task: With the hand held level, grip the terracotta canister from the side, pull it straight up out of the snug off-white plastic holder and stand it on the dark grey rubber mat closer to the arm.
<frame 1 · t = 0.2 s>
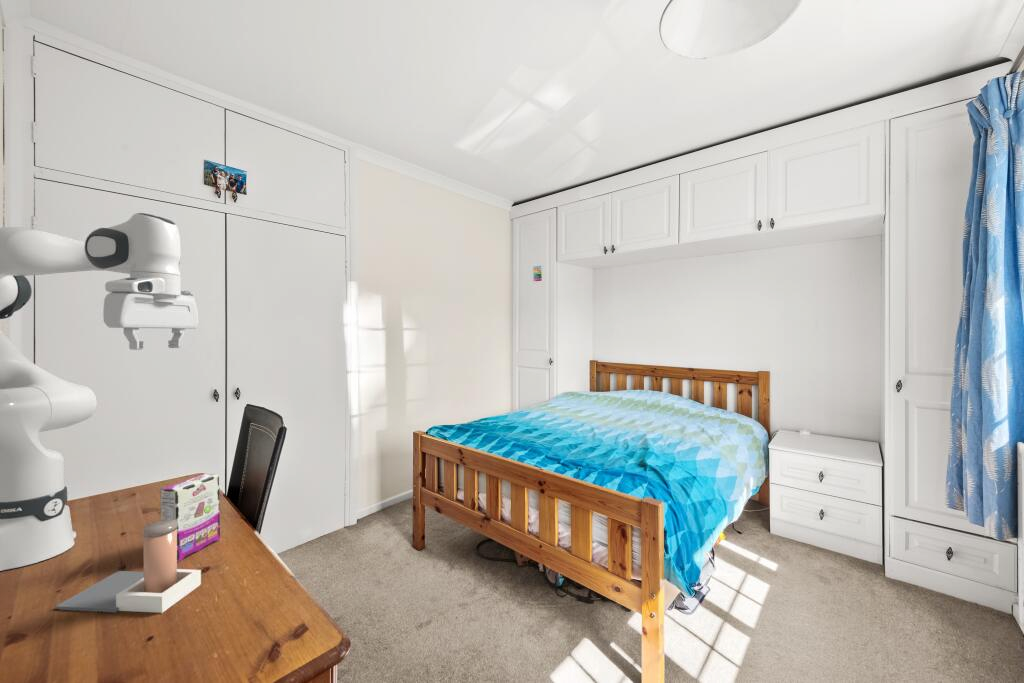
hand: (156, 348, 96), 48 cm above the table, tool pointing down, fingers open, 8 cm apart
candy bar box: (191, 550, 102), on the table
canister: (160, 561, 83), in the holder
mat: (117, 591, 85), on the table
holder: (160, 596, 83), on the table
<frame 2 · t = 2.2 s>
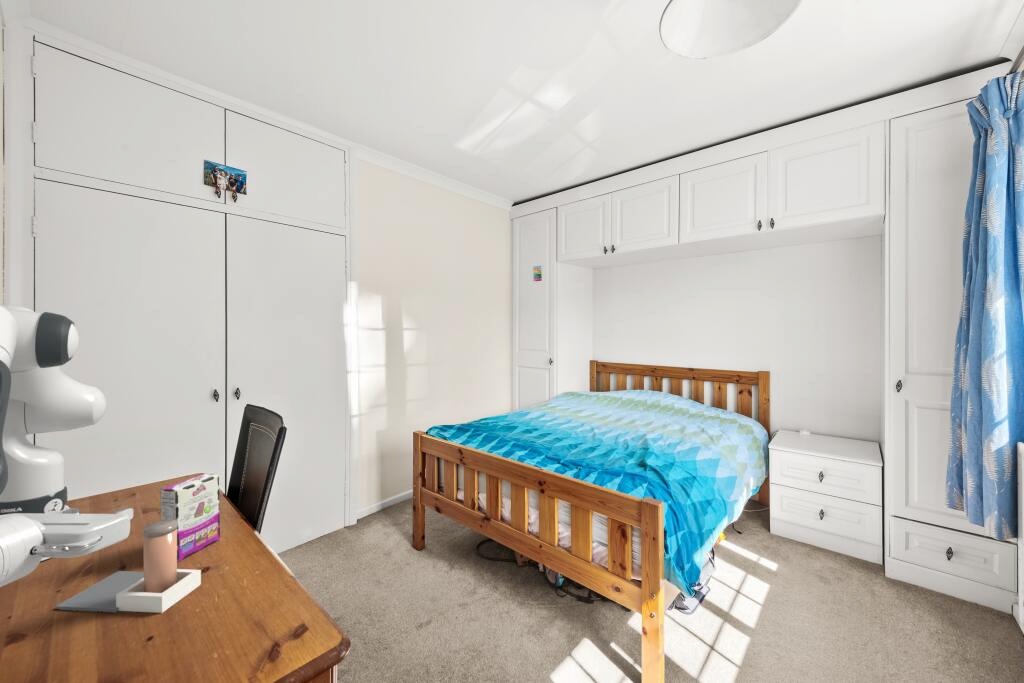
hand: (102, 512, 71), 21 cm above the table, tool horizontal, fingers open, 8 cm apart
nothing on the table moved.
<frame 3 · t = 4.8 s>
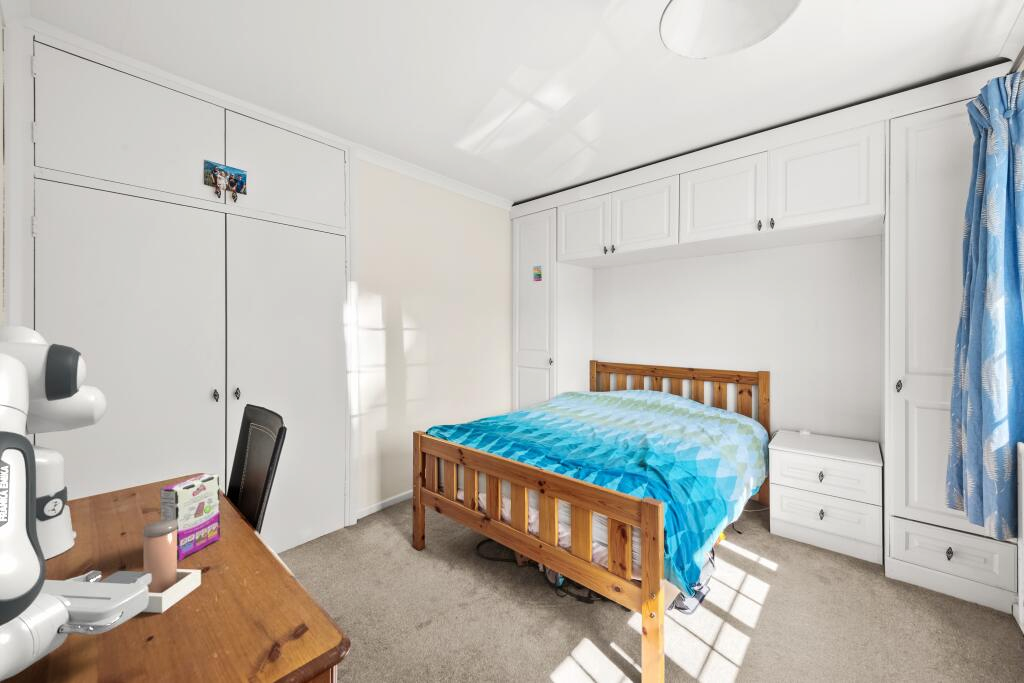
hand: (122, 575, 76), 8 cm above the table, tool horizontal, fingers open, 8 cm apart
nothing on the table moved.
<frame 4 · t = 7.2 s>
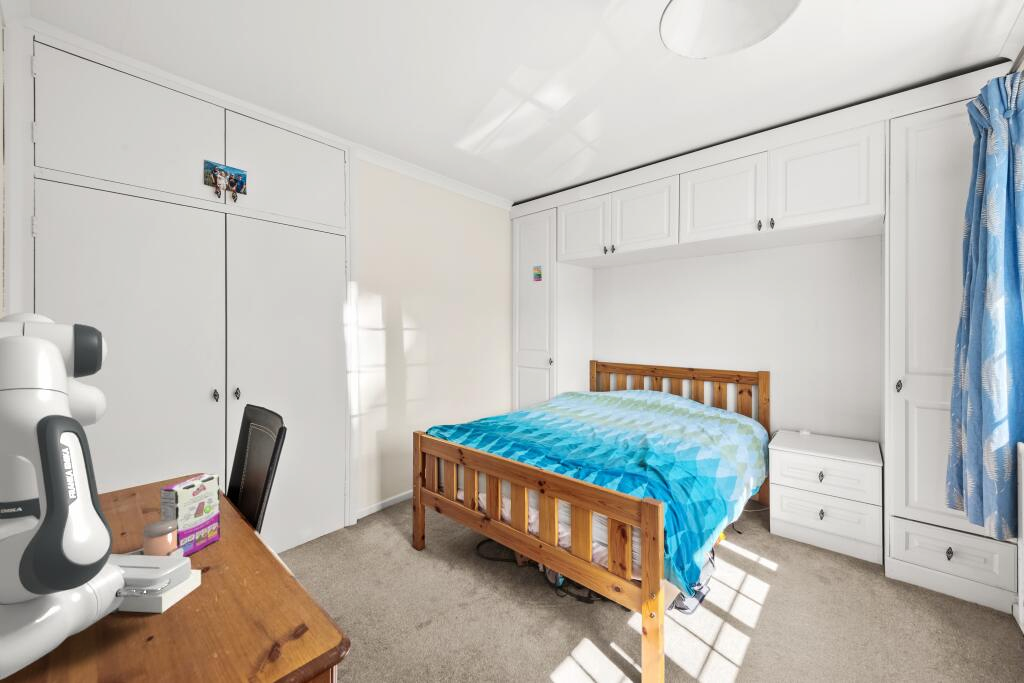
hand: (164, 551, 84), 9 cm above the table, tool horizontal, fingers closed on canister, 5 cm apart
canister: (160, 561, 83), in the holder, touching gripper
everything else where it was.
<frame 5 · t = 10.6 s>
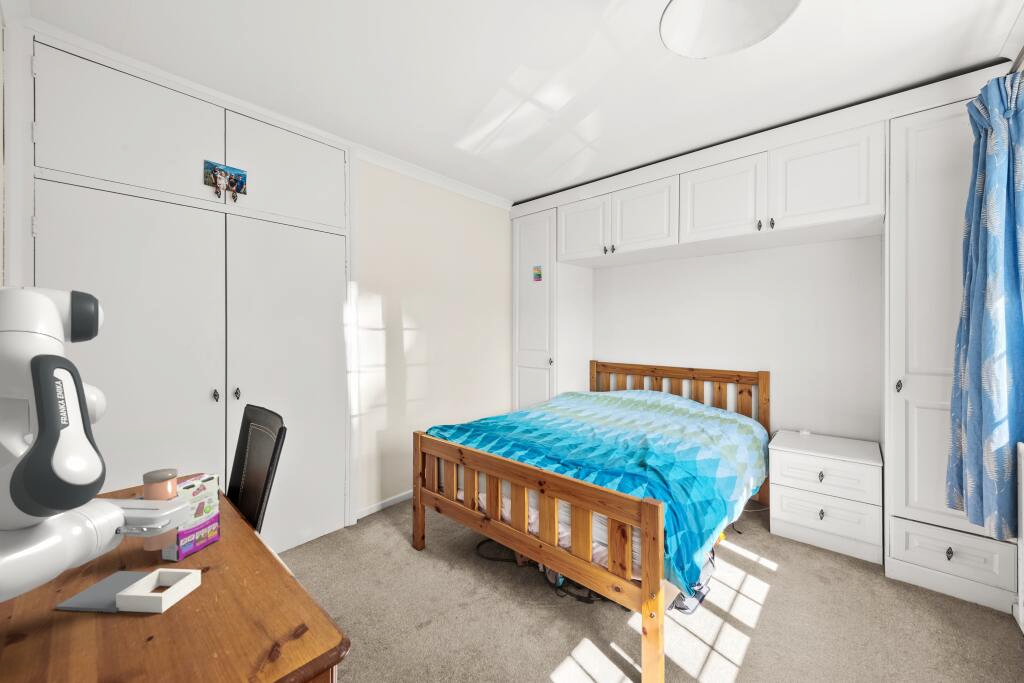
hand: (164, 499, 84), 19 cm above the table, tool horizontal, fingers closed on canister, 5 cm apart
canister: (160, 508, 83), point 17 cm above the table, touching gripper
everything else where it was.
when the fingers open (10 cm above the table, at t = 14.3 s): canister drops 1 cm, resting on mat.
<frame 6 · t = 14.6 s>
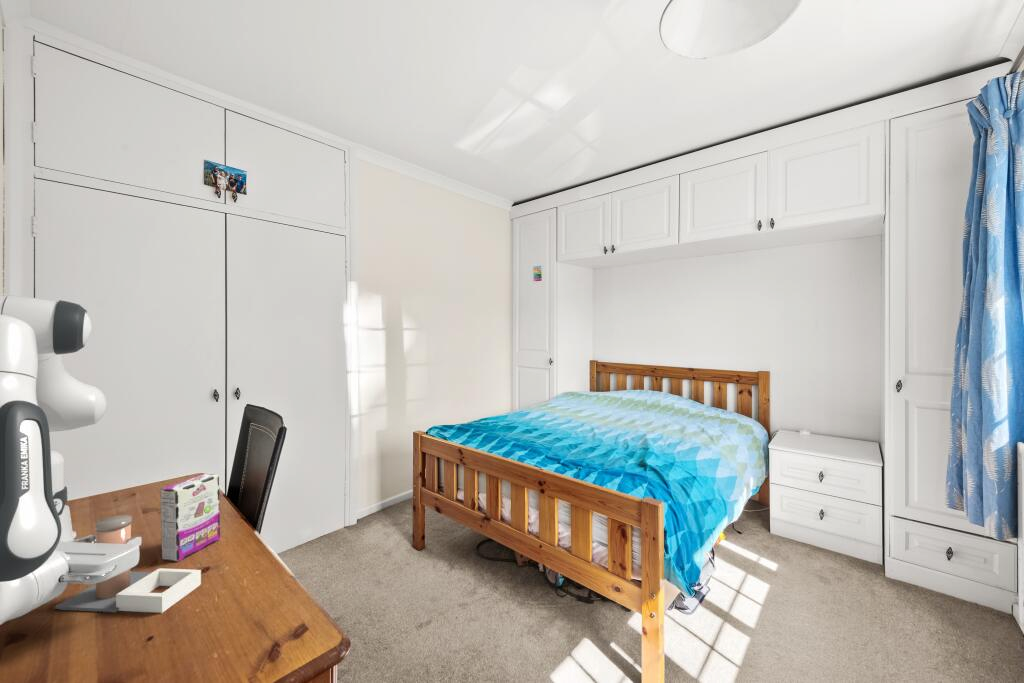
hand: (116, 539, 84), 10 cm above the table, tool horizontal, fingers open, 8 cm apart
canister: (113, 556, 84), on the mat, point 8 cm above the table
everything else where it was.
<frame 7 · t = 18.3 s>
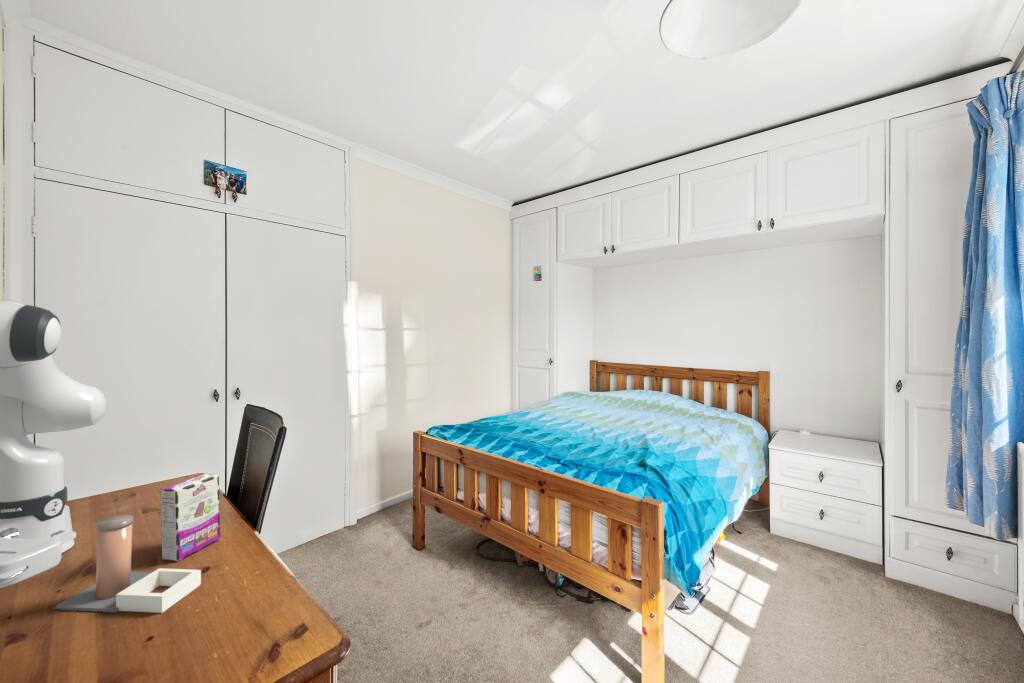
hand: (40, 533, 72), 18 cm above the table, tool horizontal, fingers open, 8 cm apart
nothing on the table moved.
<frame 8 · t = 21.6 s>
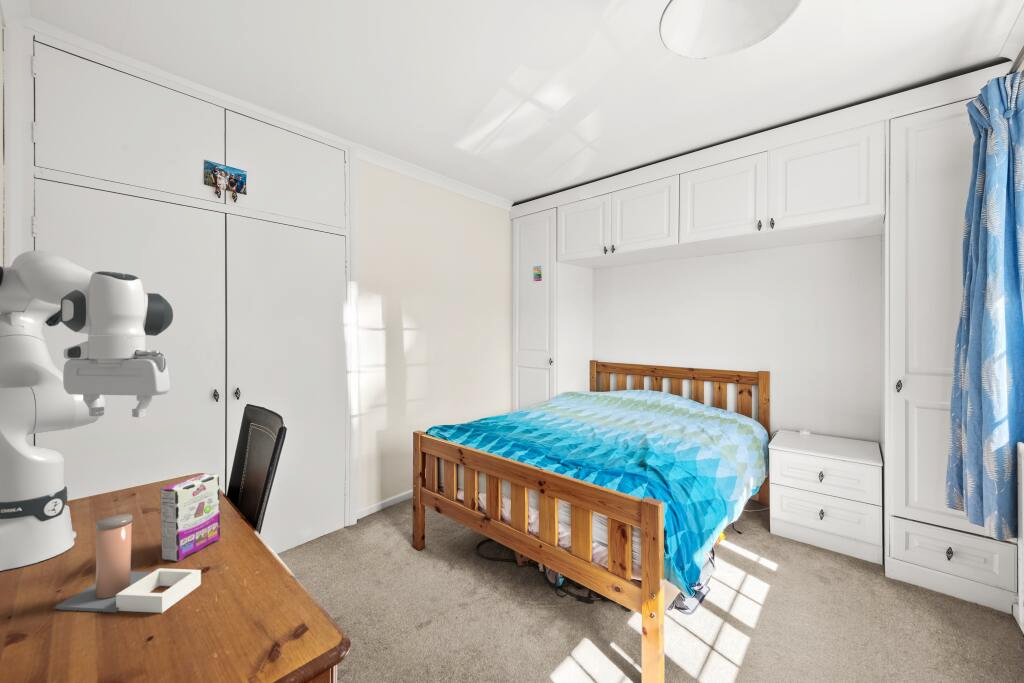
hand: (117, 416, 89), 34 cm above the table, tool pointing down, fingers open, 8 cm apart
nothing on the table moved.
at the end: canister inside the target area (0.2 cm from its centre), point 7.7 cm above the table; canister tilted 2°; the gripper is holding nothing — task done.
